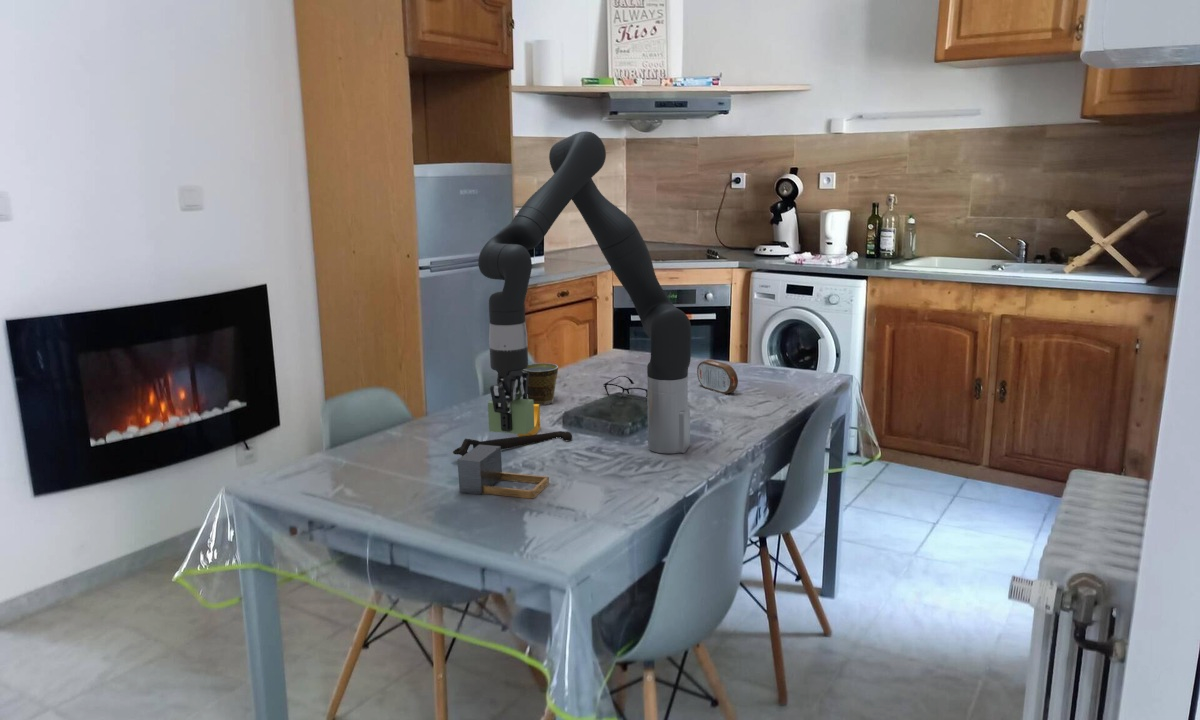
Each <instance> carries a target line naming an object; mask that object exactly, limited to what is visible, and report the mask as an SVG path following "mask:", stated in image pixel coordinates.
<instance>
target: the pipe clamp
mask: <svg viewBox="0 0 1200 720" xmlns="http://www.w3.org/2000/svg"><path fill="white" fill-rule="evenodd" d="M540 407H541V405H540V404H534V429H533V430H531V431H530V432H529V433H527V434H526V435H525V434H516V435H519V436H518V437H520V436H528V435H536V433H537V434H538V432H539V431H540V429H541V411H540V410H541V409H540ZM538 430H539V431H538Z"/></svg>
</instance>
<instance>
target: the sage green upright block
mask: <svg viewBox="0 0 1200 720" xmlns="http://www.w3.org/2000/svg"><path fill="white" fill-rule="evenodd" d="M498 406H499V403H498ZM507 407H508V402H507ZM487 411H488V412H487V413H488V430H489V432H492V433H503V434H513V435H517V434H525V435H526V434H527V433H529V432H530V431H531V430H533V429H534V402H533V400H532V399H528V398H527V399H518V398H515V401H514V402H513V403H512V412H511V413H512V430H511V431H510V432H507V431H502V430H501V416H500V413H498V412H494V407H493V402H492V400H490V401H488V402H487Z"/></svg>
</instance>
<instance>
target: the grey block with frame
mask: <svg viewBox="0 0 1200 720" xmlns="http://www.w3.org/2000/svg"><path fill="white" fill-rule="evenodd" d="M467 452H468V453H466V454H465V455H464V456H462V455H461V457H459V458H458V459H457V471H458V472H457V473H458V487H459V488H458V489H459V491H458V492H459V493H463V494H473V495H481V496H482V495H483V494H485V495H493V496H504V497H513V498H521V499H529V500H530V499H531V500H533V499H535V498H536V497H537V496H538V495H539V494H540V493H541V492H542V491H544V490H545V489H546V487H547V486H549V485H550V477H549V476H544V475H534V474H524V473H523V474H522V473H513V472H505V471H503V467H502V466H503V465H502V464H503V462H502V450H501V446H491V445H480V444H479V445H478V446H476V447H475V448H474V449H473V448H472V449H471V450H470V451H467ZM499 481H511V482H518V483H519V482H520V483H529V484H530V483H531V484H536V485H535V486H534V487H533V488H532V489H530V490H529V489H521V488H520V489H519V488H512V487H501V486H495V484H497V482H499Z"/></svg>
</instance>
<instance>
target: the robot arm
mask: <svg viewBox="0 0 1200 720" xmlns="http://www.w3.org/2000/svg"><path fill="white" fill-rule="evenodd" d="M548 155H549V156H548V157H549V158H548V160H549V164H550V165H549V166H550V168H551V170H552V172H553V175H552V176H551V177H550V178H549V179H548V180H547V181H546V182H545V183H544V184H543V185H542V186H540V188H539V189H537V190H536V191H535V192H533V194H532V195H531V196H530V197H529V198H528V199H527V201H525V203H524V204H523V205H522V206H521V207H520V209H519V210H518V211H517V213H516V214H515V216H514V217H513V219H512V220H511V222H510V223H509V224H508V225H507V226H505V227H503V228H502V229H501V230H500V231H499V232H497V233H496V234H495V235H494V236H492V238H490V239H489V240H488V241H487V242H486V243H485V244H484V245H483V247H482V249H481V250H480V253H479V256H478V259H477V264H478V269H479V272H480V273H481V274H482V276H483V277H485V278H487V279H491V280H499V281H504V282H503V283H504V284H503V288H502V291H497V292H493V293H492V294H491V295H490V296H489V299H488V316H489V330H488V342H489V344H488V345H489V360H490V364H489V365H490V368H491V370H493V371H495V372H496V373H497V377H496V384H495V385H493V384H492V385H490V388H489V389H490V390H489V391H490V396H491V401H492V402H493V407H494V412H498V413H500V416H501V430H502V431H507V432H510V431H511V430H512V413H511V412H512V403H513V402H514V401H515V398H518V399H528V394H527V393H528V379H529V372H525V371H522V370H523V369H525V368H527V367H528V365H529V353H528V349H529V347H528V331H527V326H526V309H525V308H526V307H525V301H526V296H527V293H528V288H529V283H530V279H531V275H532V269H533V265H532V258H531V254H530V253H529V250H533V249H535V248H537V247H538V246H539V245H540V243H541V242H542V241H543V240H544V238H545V236H546V234H547V233H548V232H549V231H550V229H551V228H552V226H553V225H554V223H555V222H556V221H557V219H558V218H559V217H560V215H561V213H562V212H563V211H564V209H566V207H567V206H568V204H569V203H570V202H571V201H572V203H573V204H574V205H575V207H576V208H577V211H578V212H579V213H580V215H581V217H582V219H583V220H584V222H585V223H586V225H587V227H588V229H589V230H590V232H591V234H592V236H593V237H594V239H595V241H596V243H597V245H598V247H599V249H600V251H601V253H602V254H603V257H604V258H605V260H606V262H607V263H608V266H609V267H610V268H611V269H612V271H613V273H614V275H615V276H616V277H617V279H618V281H619V282H620V285H622V287H623V288H624V290H625V291H626V293H627V294H628V296H629V297H630V299H631V302H632V304H633V305H634V308H635V310H636V313H637V314H638V317H639V320H640V323H641V325H642V328H643V330H644V333H645V334H646V336H647V337H648V338H649V339H650V361H649V362H648V363H647V367H646V373H647V374H646V382H647V387H646V389H647V399H646V401H647V448H648V450H650V452H651V451H652V452H653V453H654V452H655V453H658V454H677V453H682V454H683V453H686V451H687V450H688V448H689V447H690V446H691V406H690V405H689V404H688V403H689V399H688V397H689V391H688V390H689V385H688V383H689V382H688V380H689V377H688V375H689V367H690V364H691V357H692V353H691V352H692V327H691V326H692V325H691V321H690V318H689V316H688V315H687V314H686V313H685V312H684V311H683V310H681V309H679V308H677V307H676V306H675V305H674V304H673V302H672V301H671V299H670V298H669V297H668V295H667V294H666V293H665V291H664V289H663V288H662V286H661V284H660V283H659V280H658V277H657V275H656V272H655V269H654V265H653V261H652V258H651V254H650V251H649V249H648V246H647V244H646V242H645V240H644V239H643V236H642V235H641V233H640V231H639V229H638V227H637V225H636V223H634V221H633V219H632V218H631V217H629V216H628V215H627V214H626V213H625V212H624V211H622V209H620V208H619V207H617V206H616V205H615V204H613V203H612V202H610V201H609V200H608V199H607V197H605V196H604V195H603V193H601V192H600V189H598V187H597V185H596V183H595V182H594V180H593V177H594V176H595V175H596V174H597V173H598V172H599V171H601V169H602V168H603V166H604V164H605V161H606V157H607V152H606V147H605V145H604V142H603V140H602V139H601V138H600V137H599V136H598V135H597V134H596V133H594V132H592V131H587V130H586V131H579V132H577V133H574V134H572V135H570V136H567V137H566V138H563V139H562V140H559V141H558V142H556V143H554V144H553V145H552V146H551V148H550V151H549V154H548ZM507 402H508V407H507ZM498 403H499V406H498Z"/></svg>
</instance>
